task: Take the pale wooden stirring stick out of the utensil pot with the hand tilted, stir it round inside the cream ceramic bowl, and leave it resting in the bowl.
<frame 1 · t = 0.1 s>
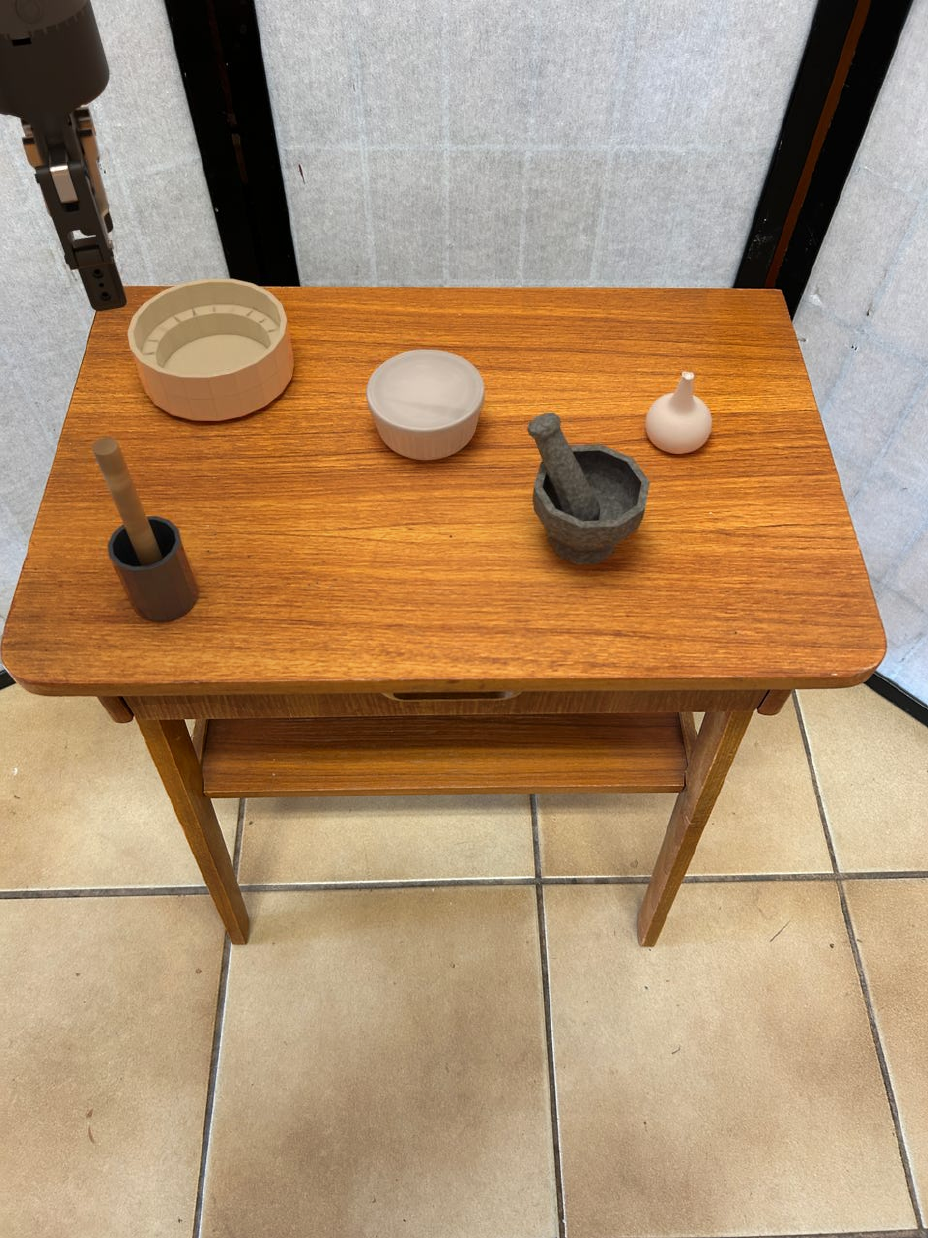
hand: (104, 267, 63), 27 cm above the table, tool pointing down, fingers open, 8 cm apart
garlic bulb: (674, 437, 93), on the table
stick: (164, 592, 81), resting on utensil pot
utensil pot: (165, 595, 81), on the table
ramekin: (426, 430, 93), on the table
mortar and pestle: (575, 536, 86), on the table
bowl: (219, 373, 98), on the table
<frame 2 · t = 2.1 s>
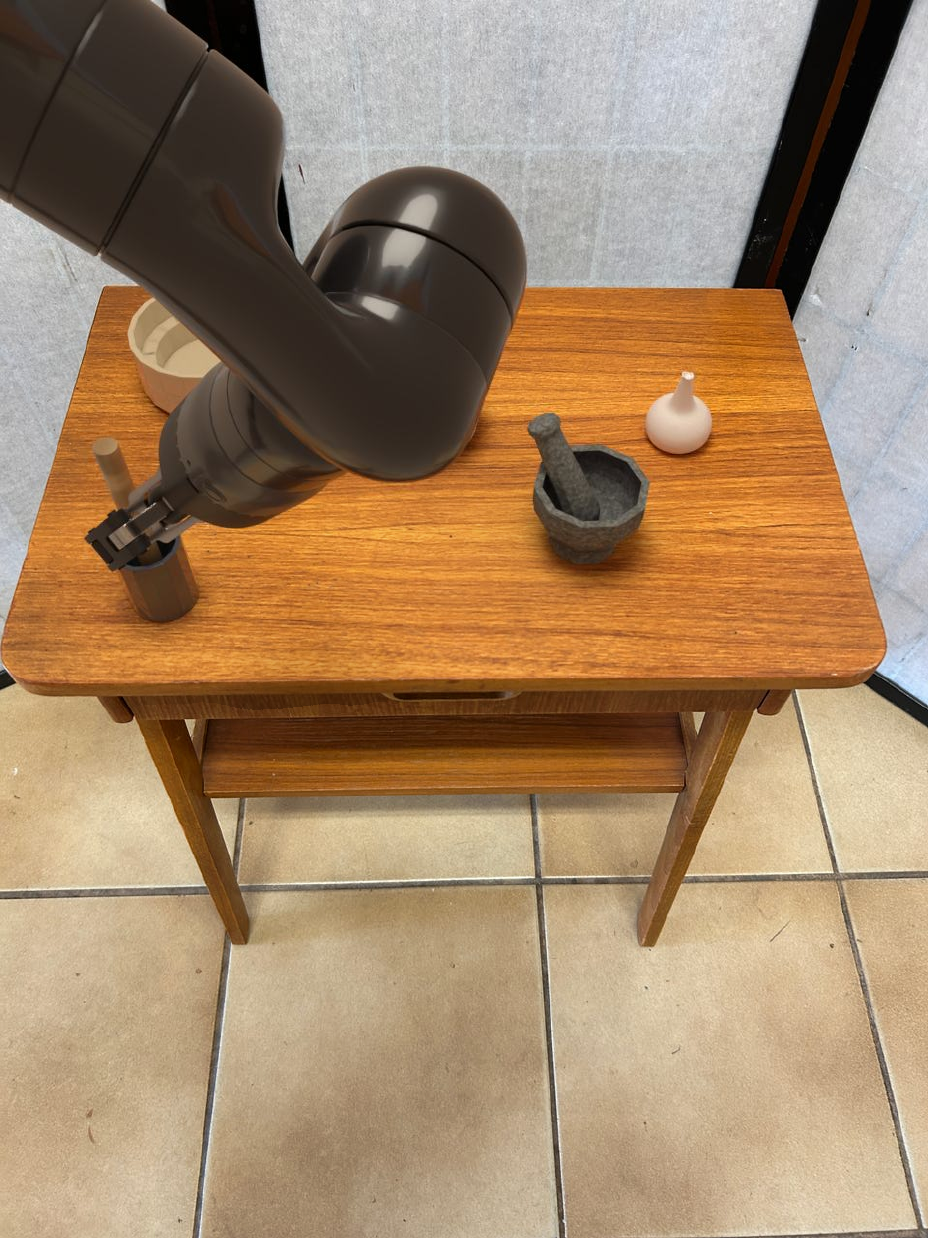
hand: (175, 500, 61), 20 cm above the table, tool tilted 40°, fingers open, 8 cm apart
nothing on the table moved.
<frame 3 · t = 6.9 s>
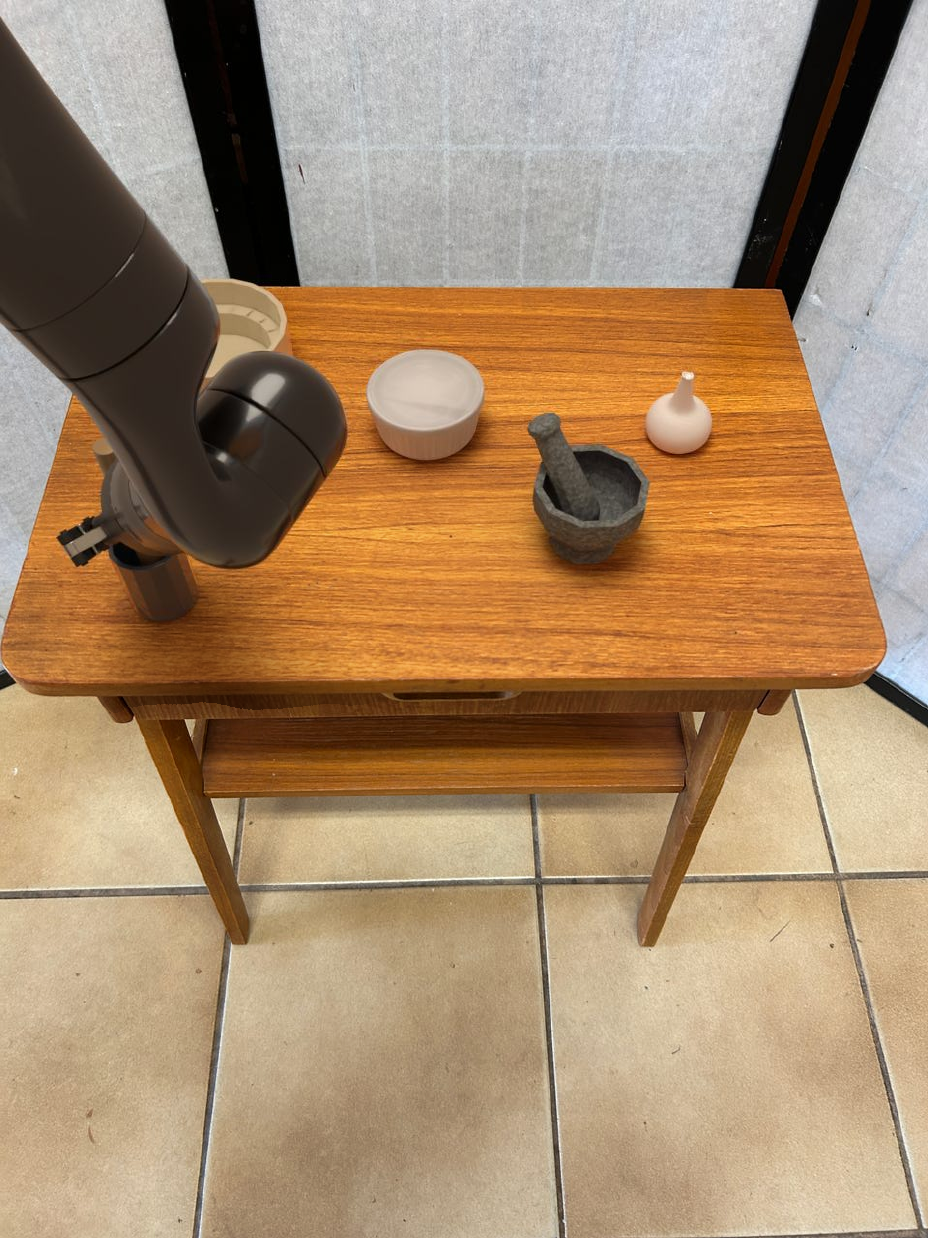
hand: (125, 515, 75), 8 cm above the table, tool tilted 45°, fingers closed on stick, 2 cm apart
stick: (164, 591, 81), point 1 cm above the table, touching gripper, utensil pot
everything else where it was.
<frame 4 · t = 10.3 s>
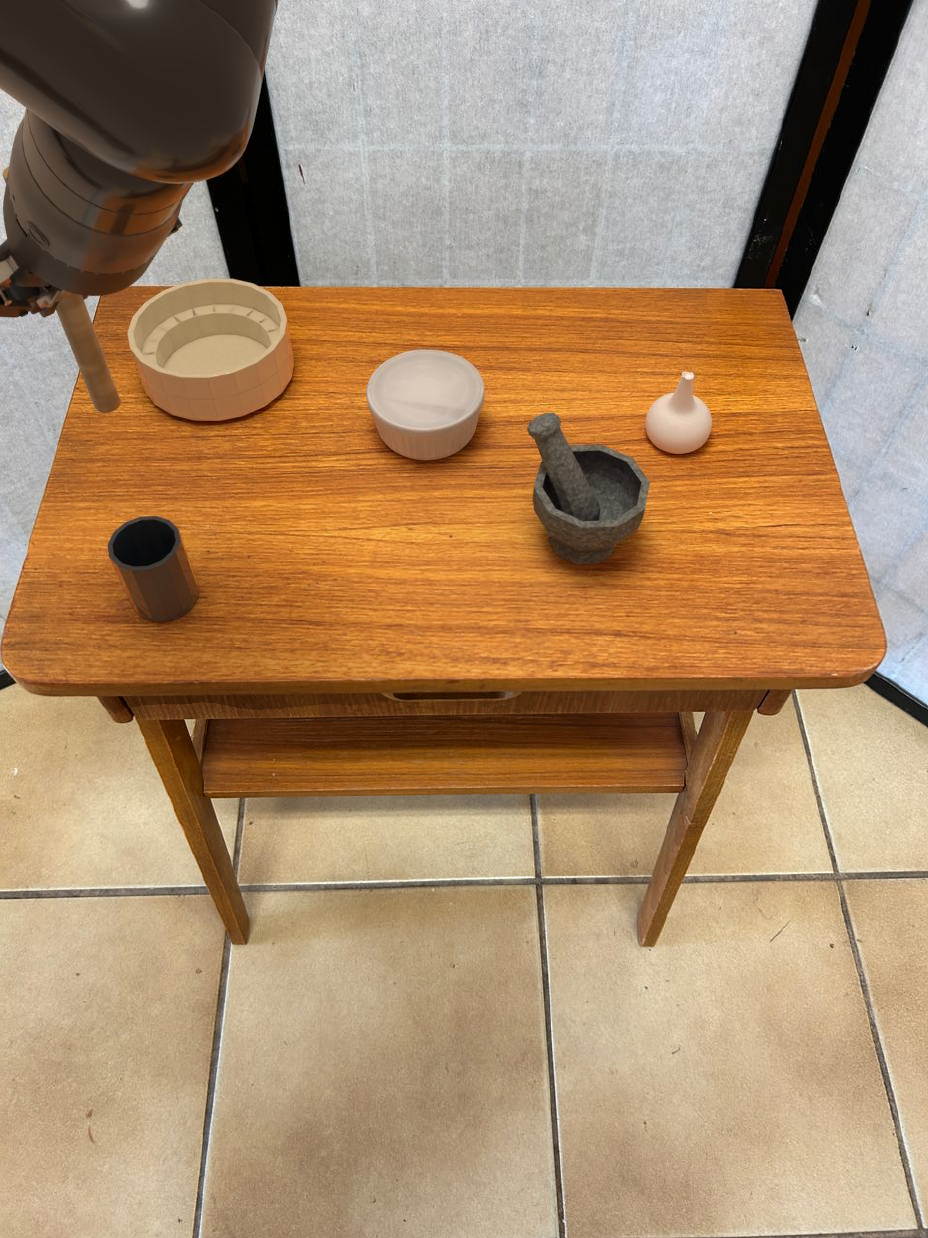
hand: (54, 293, 61), 27 cm above the table, tool tilted 45°, fingers closed on stick
stick: (107, 404, 67), point 19 cm above the table, touching gripper
everything else where it was.
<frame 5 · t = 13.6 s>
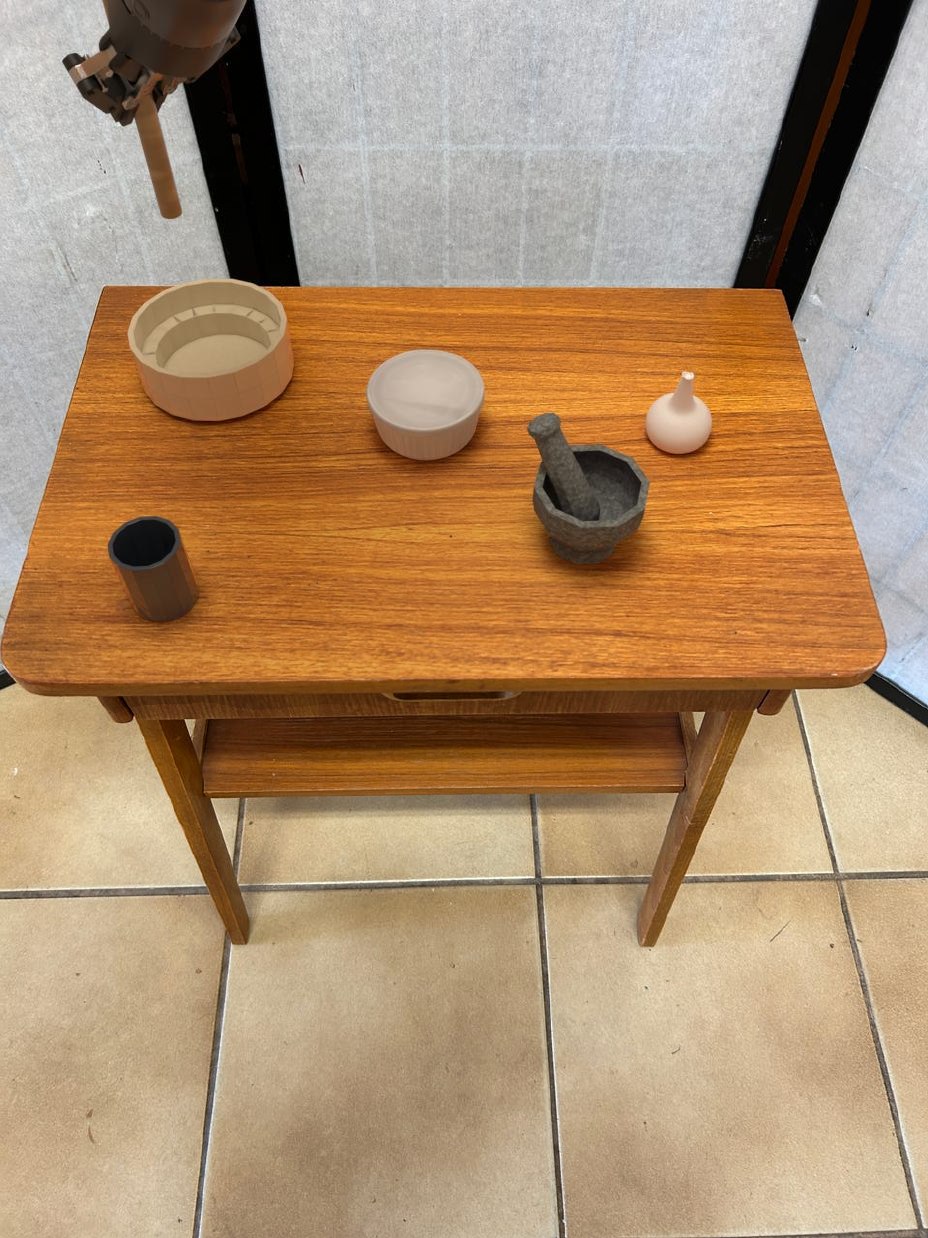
hand: (132, 107, 74), 27 cm above the table, tool tilted 45°, fingers closed on stick
stick: (171, 213, 80), point 20 cm above the table, touching gripper
everything else where it was.
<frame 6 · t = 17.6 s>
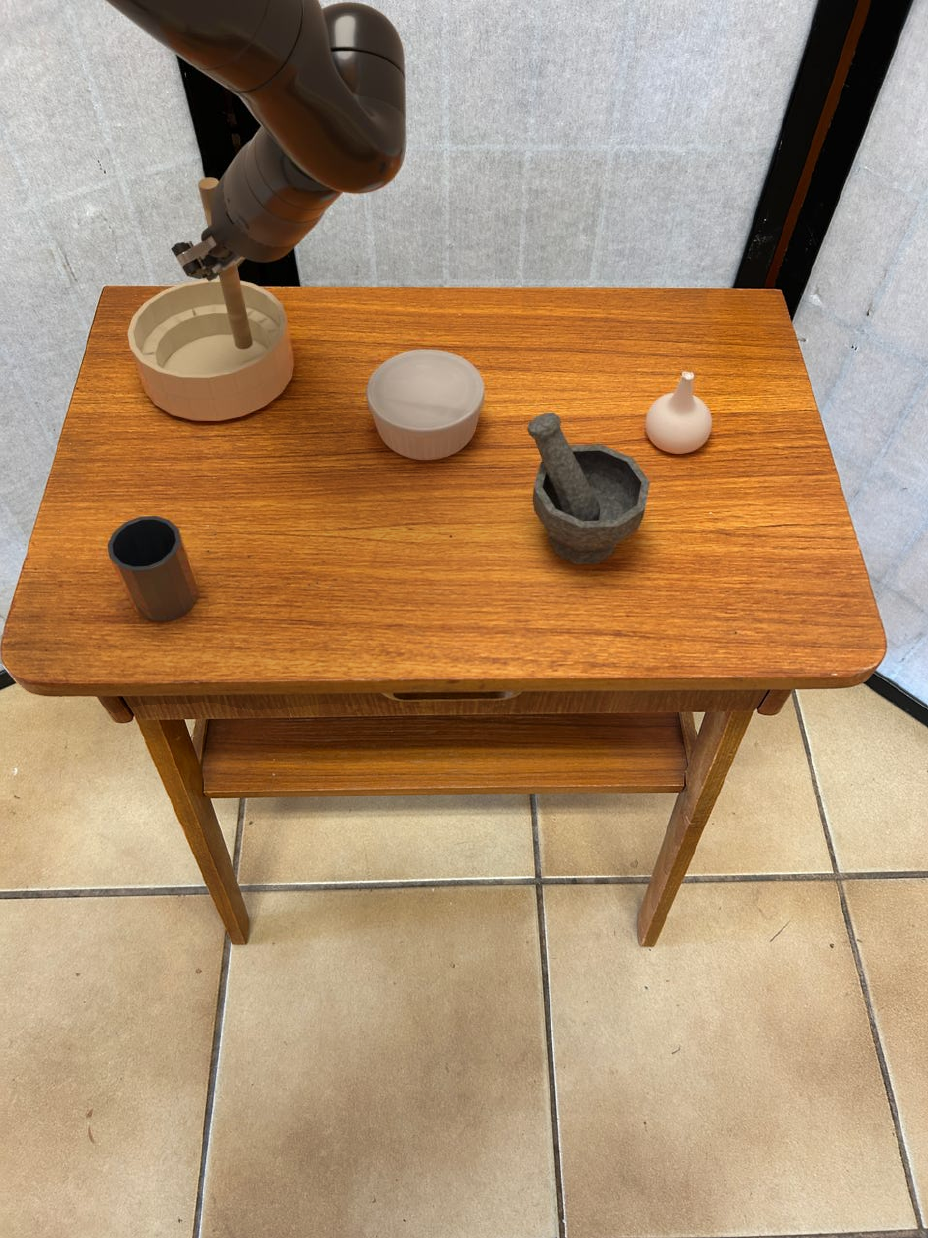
hand: (215, 264, 90), 11 cm above the table, tool tilted 45°, fingers closed on stick, 2 cm apart
stick: (244, 343, 96), point 3 cm above the table, touching gripper
everything else where it was.
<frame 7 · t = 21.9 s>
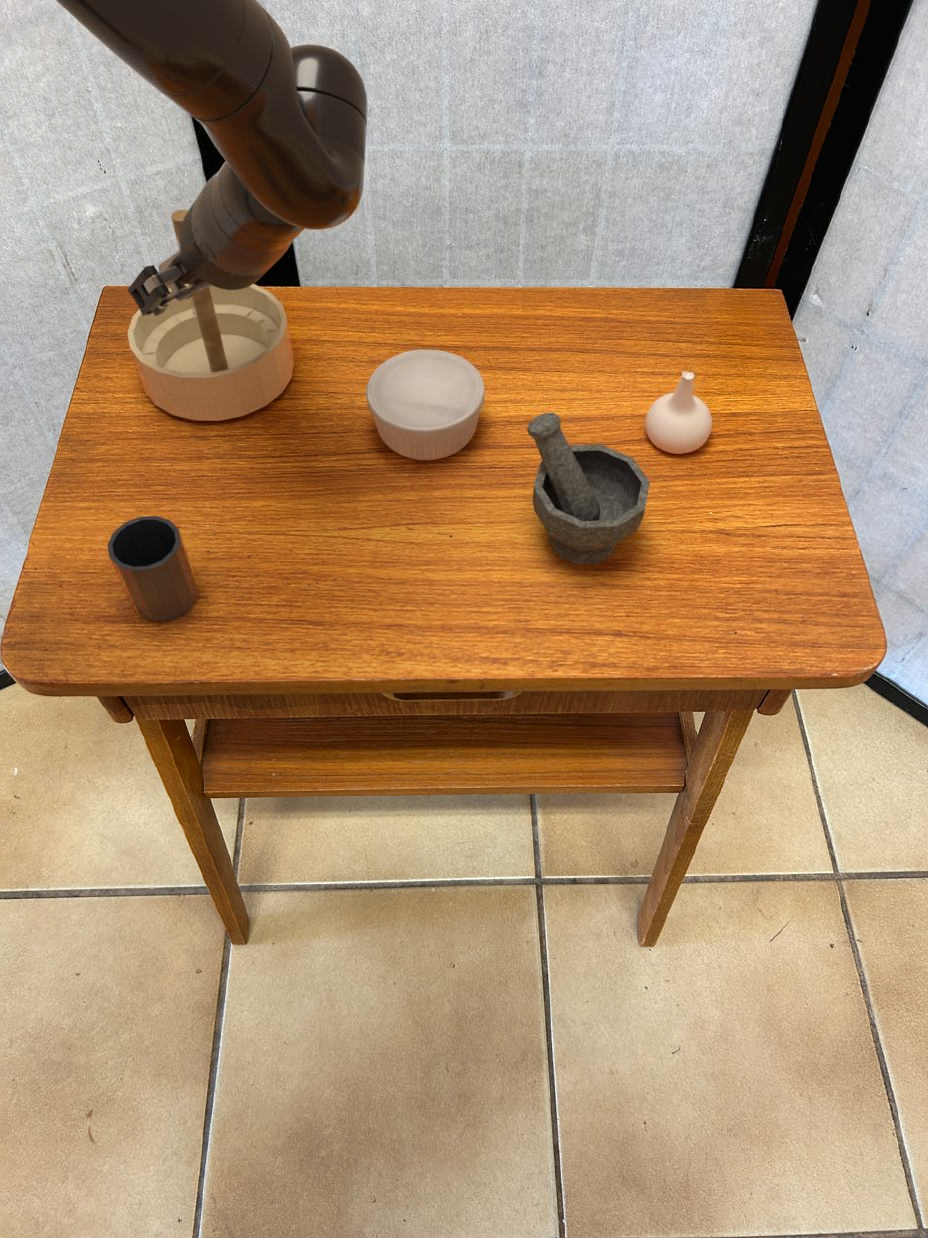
hand: (191, 286, 90), 10 cm above the table, tool tilted 45°, fingers open, 8 cm apart
stick: (219, 369, 97), point 1 cm above the table, touching bowl
everything else where it was.
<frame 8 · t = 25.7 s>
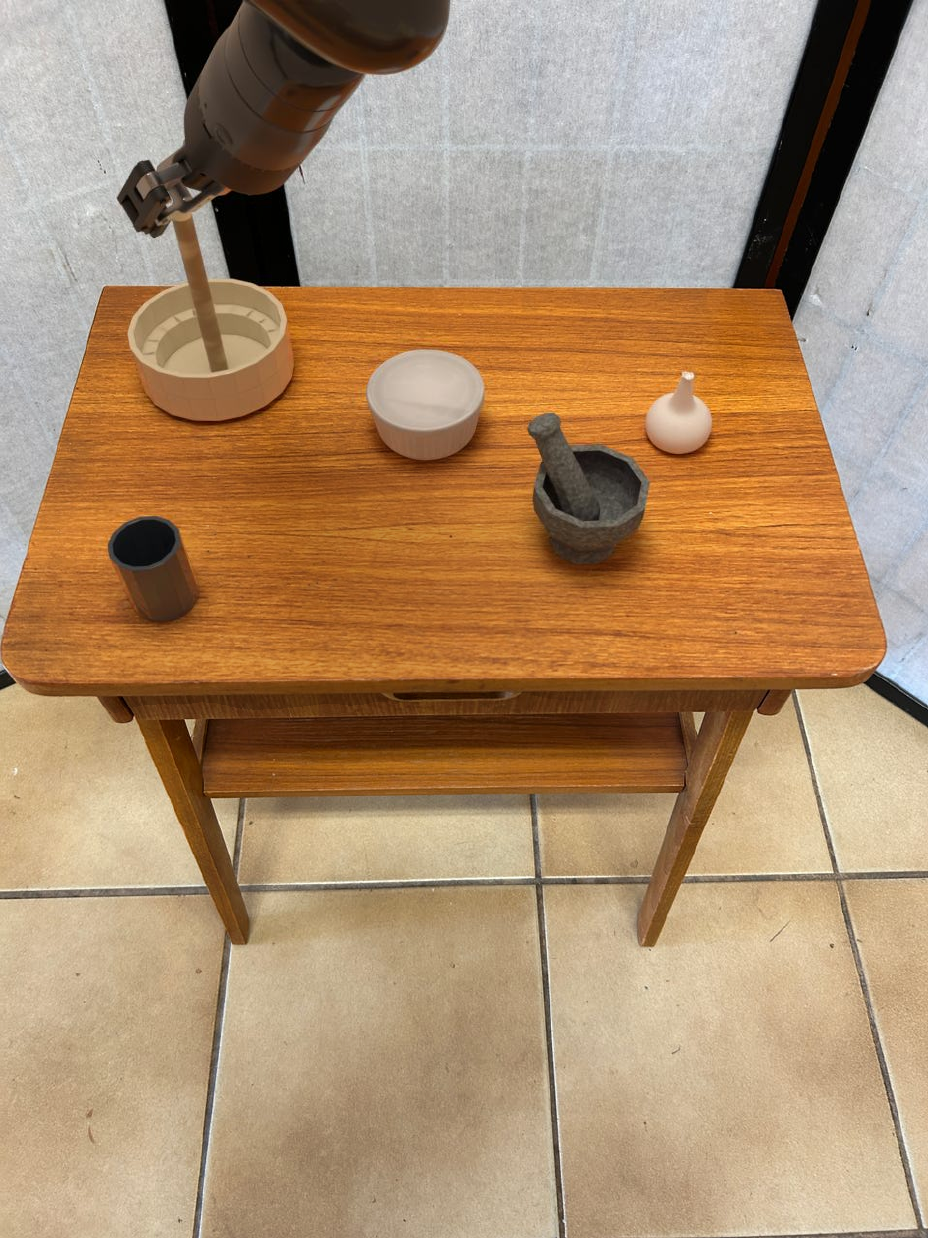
hand: (197, 202, 72), 25 cm above the table, tool tilted 45°, fingers open, 8 cm apart
nothing on the table moved.
at the end: stick inside the target area in the bowl (0.1 cm from its centre), point 0.6 cm above the bowl's base; the gripper is holding nothing; stick moved 28.5 cm from its start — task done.
